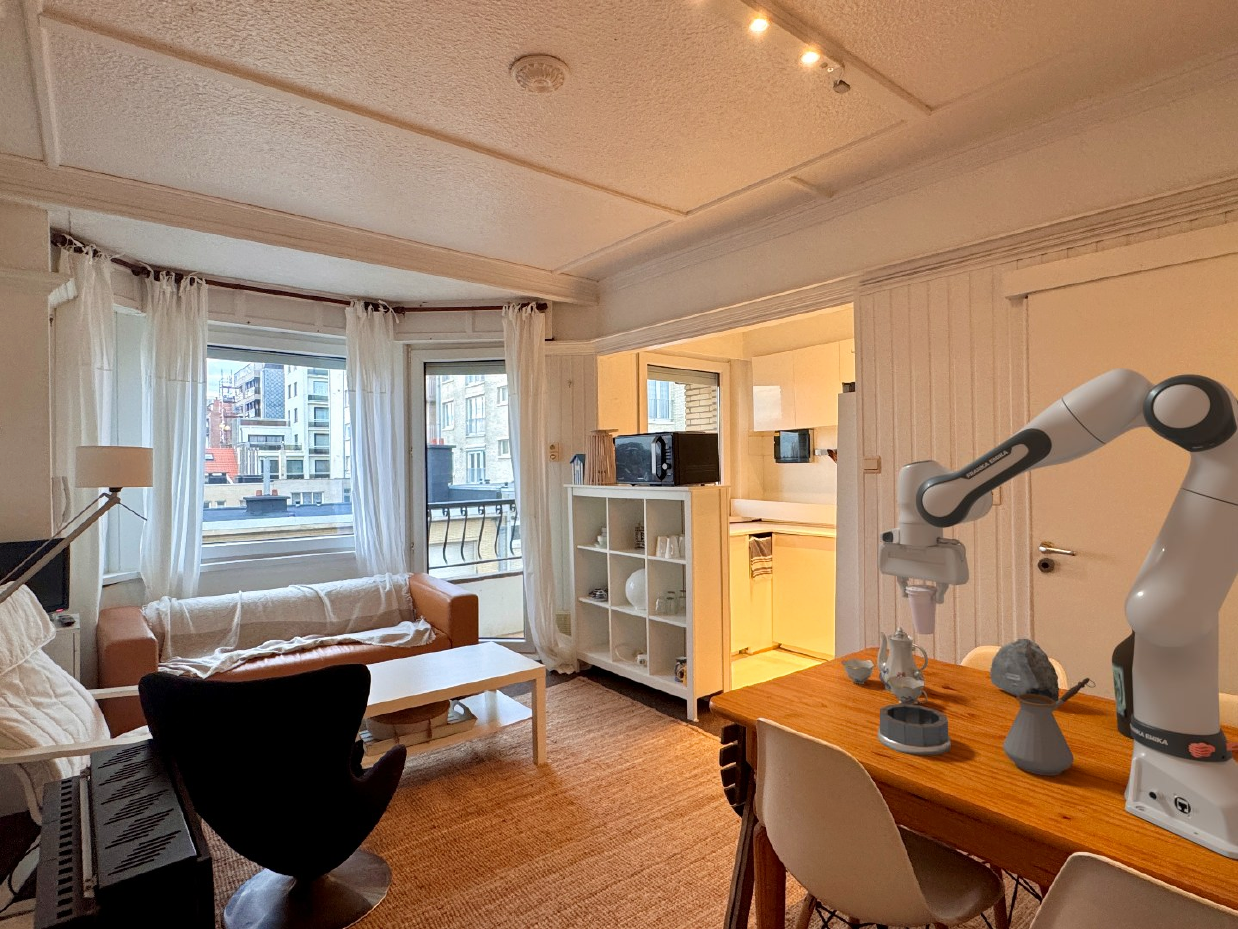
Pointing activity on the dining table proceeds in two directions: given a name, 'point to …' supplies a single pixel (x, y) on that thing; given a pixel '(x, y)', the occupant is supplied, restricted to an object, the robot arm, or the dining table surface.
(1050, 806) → the dining table surface
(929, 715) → the ring
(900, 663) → the chinaware
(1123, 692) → the olive oil
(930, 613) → the smoothie
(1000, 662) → the decorative rock
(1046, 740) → the coffee pot
